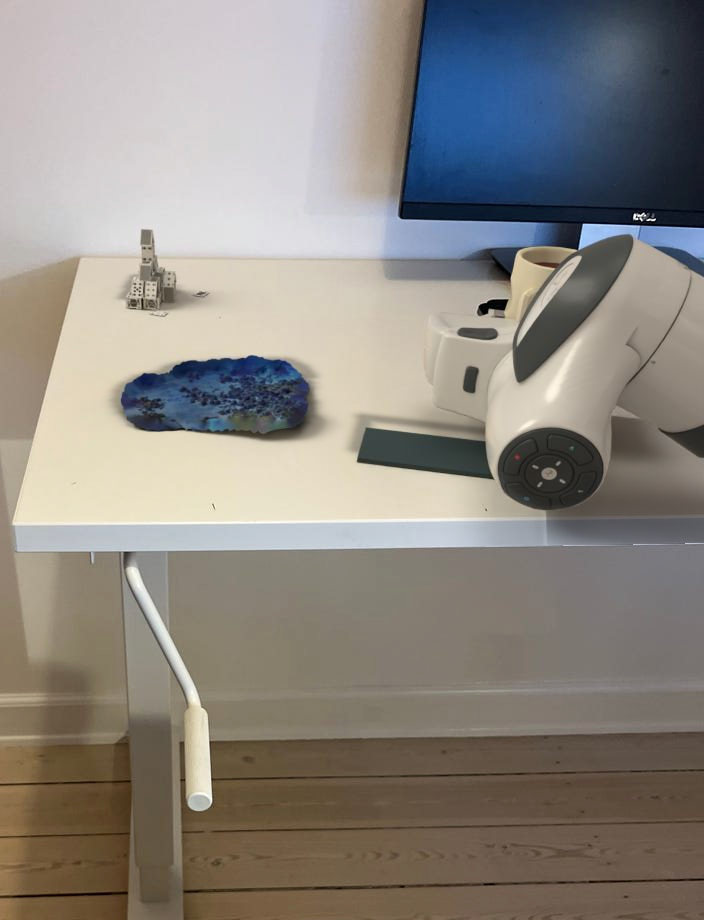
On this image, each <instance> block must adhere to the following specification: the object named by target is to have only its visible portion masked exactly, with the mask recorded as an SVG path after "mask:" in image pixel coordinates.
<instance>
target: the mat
mask: <svg viewBox="0 0 704 920" xmlns="http://www.w3.org/2000/svg"><path fill="white" fill-rule="evenodd" d="M356 463H363V464H372V465H380V466H389V467H395V468H403V469H410V470H411V469H412V470H418V471H419V470H420V471H428V472H437V473H444V474H453V475H460V476H461V475H462V476H470V477H475V478H476V477H478V478H486V479H492V480H493V479H494V478H493V476H492V473H491V471H490V468H489V464H488V459H487V453H486V440H480V439H479V440H477V439H471V438H470V439H469V438H460V437H453V436H444V435H435V434H427V433H418V432H410V431H401V430H392V429H385V428H375V427H368V426H367V427H365V429H364V432H363V436H362V440H361V442H360V447H359V450H358V454H357V458H356ZM494 480H495V479H494Z"/></svg>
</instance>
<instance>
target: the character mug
mask: <svg viewBox="0 0 704 920" xmlns="http://www.w3.org/2000/svg"><path fill="white" fill-rule="evenodd" d="M578 250H579V249H578ZM578 250H577V249H573V248H567V247H561V246H544V245H543V246H529V247H525V248H522V249H519V250H518V251H517V253H516V254H515V258H514V263H513V268H512V272H511V276H510V292H509V297H508V301H507V303H506V306H505V309H504V310H503V311H504V313H505V319H516V321H518V322H520V321H521V319H522V317H523V315H524V313H525V311H526V310H527V308H528V306H529V304H530V303H531V301H532V299H533V298H534V296H535V295H536V293H537V292H538V290H539V289H540V287H541V286H542V285H543V283H544V282H545V281H546V279H547V278H548V277H549V276H550V274H551V273H552V272H553V271H554V269H555V268H556V267H557V266H558V265H559V264H560V263H561V262H562V261H563V260H564V259H565V258H567V257H568V256H569V255H571V254H572V253H574V252H576V251H578Z"/></svg>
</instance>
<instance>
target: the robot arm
mask: <svg viewBox="0 0 704 920" xmlns="http://www.w3.org/2000/svg"><path fill="white" fill-rule="evenodd" d="M504 311H505V310H501V309H492V308H488V312H487V313H486V314H484V315H474V314H472V315H471V314H462V313H452V312H451V313H450V312H441V311H440V312H435V313H432V314H430V315H429V316H428V321H427V326H426V333H425V340H424V348H423V355H422V356H423V370H424V376H425V378H426V380H427V382H428V383H429V384H430V385H431V386H432V404H433V406H434V407H436V408H438V409H440V410H444V411H446V412H447V411H448V412H451V413H455V414H458V415H462V416H465V417H468V418H471V419H474V420H477V421H479V422H481V423H483V424H485V430H484V431H485V432H484V433H485V439H484V441H486V453H487V459H488V464H489V468H490V471H491V473H492V476H493V478H494V481H495V483H496V484H497V486H498V487H499V489H500V490H501V491H502V492H503V493H504V494H505V495H506V496H507V497H508V498H510V499H511V500H512V501H514V502H516V503H518V504H520V505H522V506H525V507H527V508H530V509H534V510H538V511H539V510H540V511H561V510H566V509H570V508H574V507H577V506H580V505H582V504H583V503H585V502H586V501H588V500H590V499H591V498H592V497H593V496H594V495H595V494H596V493H597V492H599V490H600V488H601V486H602V485H603V483H604V481H605V478H606V476H607V473H608V470H609V467H610V461H611V455H612V437H613V435H612V418H613V417H612V416H613V413H614V410H615V407H616V406H617V407H619V408H620V409H622V410H625V411H626V412H628V413H630V414H632V415H633V416H635V417H637V418H639V419H641V420H642V421H645V422H647V423H648V424H650V425H652V426H654V427H656V428H657V430H658V431H659V432H660V433H662V434H663V435H665V436H666V437H668V438H669V439H671V440H672V441H673V442H675V443H676V444H678V445H679V446H681V447H682V448H684V449H685V450H687V451H688V452H689V453H691V454H693V455H695V456H696V457H697V458H701V459H704V276H702V275H701V274H699V273H697V272H696V271H694V270H692V269H690V268H689V266H688V265H686V264H684V263H683V262H681V261H679V260H677V259H675V258H673V257H672V256H670V255H668V254H666V253H664V252H663V251H661V250H659V249H657V248H655V247H654V246H652V245H650V244H648V243H646V242H644V241H642V240H641V239H638V238H636V237H633V235H632V234H630V233H625V234H618V235H613V236H608V237H606V238H602V239H600V240H598V241H595V242H593V243H590V244H588V245H585V246H583V247H582V248H580V249H578V251H576V252H574V253H572V254H571V255H569V256H568V257H567V258H565V259H564V260H563V261H562V262H561V263H560V264H559V265H558V266H557V267H556V268H555V269H554V271H553V272H552V273H551V274H550V276H549V277H548V278H547V279H546V281H545V282H544V283H543V285H542V286H541V287H540V289H539V290H538V292H537V293H536V295H535V296H534V298H533V299H532V301H531V303H530V304H529V306H528V308H527V310H526V311H525V313H524V315H523V317H522V319H521V321H520V322H518V321H516V319H505V313H504Z"/></svg>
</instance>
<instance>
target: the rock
mask: <svg viewBox="0 0 704 920" xmlns="http://www.w3.org/2000/svg"><path fill="white" fill-rule="evenodd" d="M309 390H310V383H309V382H308V381H306V380H305V378H304V377H303V374H302V373H301V372H299V371H298V370H297V369H296V368H295V367H293V365H292V364H291V363H290V362H289V361H288V362H287V360H281V359H279V358H278V359H270V358H269V359H268V358H264V357H263V356H258V355H254V354H250V355H247V356H246V357H239V358H234V359H233V358H231V357H221V358H220V359H218V358H211V359H207V360H201V361H200V360H196V359H190V360H186V361H181V363H179V364H175V365H174V366H173V367H172V368H171V369H170V370H169V372H168V371H166V372H164V373H159V374H158V373H155V372H150V373H149V372H148V373H147V372H143V373H142V374H141V375H139V376H137V377H136V378H134V379H133V380H132V381H129V382H127V383H126V384H125V385H124V388H123V391H122V392H121V398H120V404H121V406H122V410H123V413H124V415H125V416H126V420H127V422H129V423H131V424H132V425H134V427H135V428H139V429H144V430H145V431H155V432H160V431H162V430H166V431H167V430H168V431H169V430H170V431H176V430H178V429H184V430H185V431H187V430H189V429H190V430H192V431H193V432H195V431H201V432H204V431H207V430H210V431H211V432H216V431H220V432H223V431H224V430H228V431H229V432H231V431H233V430H234V431H240V430H243V431H246V432H247V431H250V432H251V433H254V434H255V433H257V432H259V433H260V434H261V435H265V434H267V433H269V432H272V431H276V430H281V429H294V428H296V427H297V426H298V425H299V424H302V422H303V419H304V418H305V415H307V412H308V410H309V407H310V404H309V403H310V402H309V401H306V398H307V396H308V395H309V393H308V392H309Z"/></svg>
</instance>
